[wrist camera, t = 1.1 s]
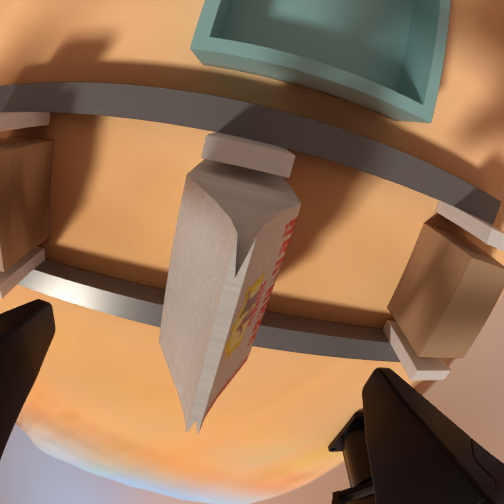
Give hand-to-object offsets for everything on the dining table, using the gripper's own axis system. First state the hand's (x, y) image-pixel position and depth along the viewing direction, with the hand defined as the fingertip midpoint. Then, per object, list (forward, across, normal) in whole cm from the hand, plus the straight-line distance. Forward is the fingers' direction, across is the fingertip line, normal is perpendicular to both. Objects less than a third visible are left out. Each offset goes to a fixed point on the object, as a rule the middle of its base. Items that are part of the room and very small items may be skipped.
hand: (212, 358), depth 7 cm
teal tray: (+10, -2, -14) cm, 17 cm away
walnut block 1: (+10, +13, 0) cm, 16 cm away
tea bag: (+10, 0, 0) cm, 10 cm away
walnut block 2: (+10, -13, 0) cm, 16 cm away
